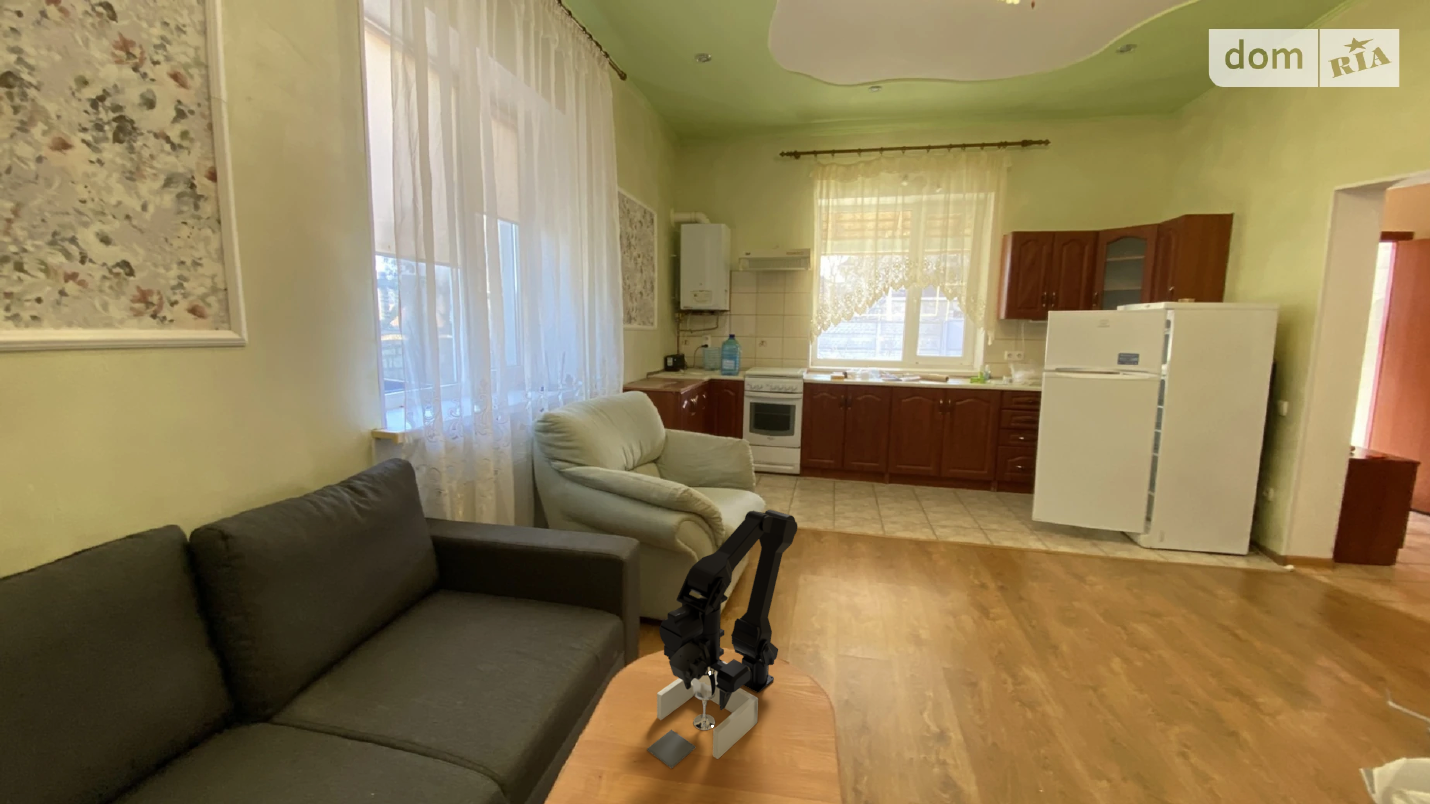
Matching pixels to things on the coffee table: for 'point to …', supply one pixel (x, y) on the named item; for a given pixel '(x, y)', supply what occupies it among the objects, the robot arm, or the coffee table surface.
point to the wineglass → (705, 697)
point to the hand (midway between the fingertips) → (704, 698)
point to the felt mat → (671, 748)
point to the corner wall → (738, 704)
